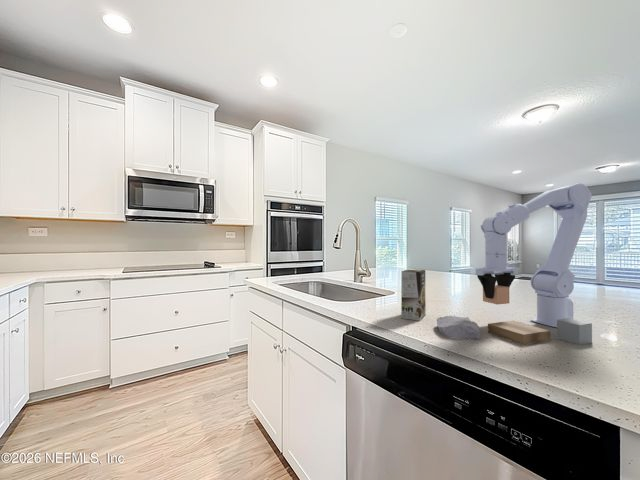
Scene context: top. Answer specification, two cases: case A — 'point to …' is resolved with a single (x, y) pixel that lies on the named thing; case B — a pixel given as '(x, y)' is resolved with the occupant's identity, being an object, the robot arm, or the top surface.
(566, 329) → the slate grey cube
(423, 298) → the coffee box
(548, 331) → the walnut block
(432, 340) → the top surface
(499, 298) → the terracotta cube
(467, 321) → the stone block
